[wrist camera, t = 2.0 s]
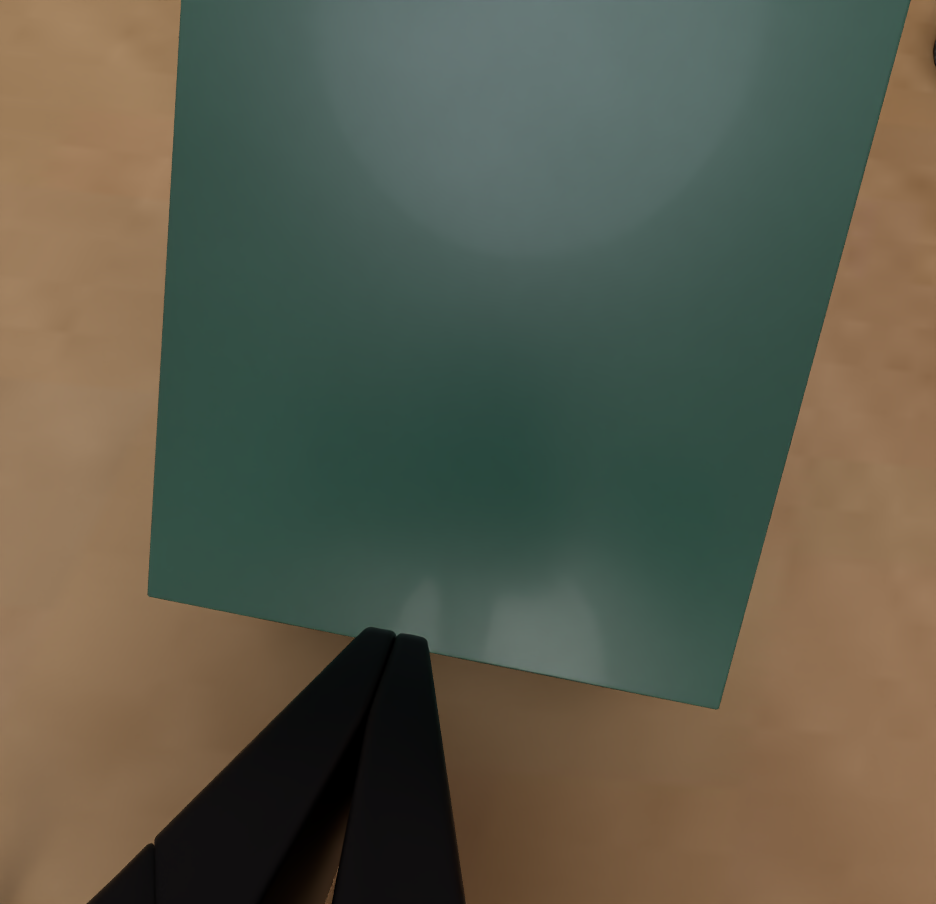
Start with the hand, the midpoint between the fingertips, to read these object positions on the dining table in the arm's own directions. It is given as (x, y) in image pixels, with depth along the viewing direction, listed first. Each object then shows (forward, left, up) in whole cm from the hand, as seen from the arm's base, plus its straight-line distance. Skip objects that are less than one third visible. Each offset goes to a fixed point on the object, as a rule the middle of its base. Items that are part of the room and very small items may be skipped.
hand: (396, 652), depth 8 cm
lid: (+7, +2, -3) cm, 7 cm away
